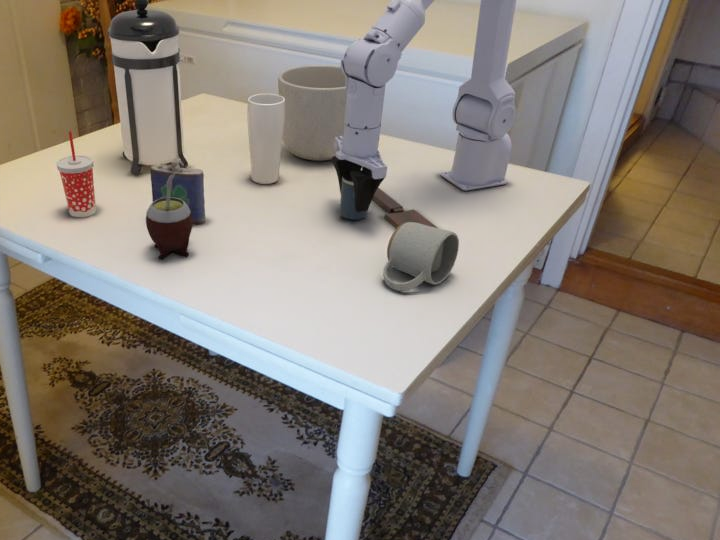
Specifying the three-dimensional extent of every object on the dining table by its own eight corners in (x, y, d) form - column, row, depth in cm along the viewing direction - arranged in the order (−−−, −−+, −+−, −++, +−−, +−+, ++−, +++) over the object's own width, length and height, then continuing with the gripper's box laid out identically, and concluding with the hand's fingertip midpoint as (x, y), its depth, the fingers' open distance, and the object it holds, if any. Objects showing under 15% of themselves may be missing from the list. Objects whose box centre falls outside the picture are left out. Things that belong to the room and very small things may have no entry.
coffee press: (209, 156, 139) (203, -8, 121) (161, 183, 129) (147, 7, 111) (143, 141, 147) (128, -16, 129) (93, 165, 136) (69, -3, 118)
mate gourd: (166, 237, 111) (159, 146, 102) (206, 248, 108) (203, 156, 99) (138, 256, 106) (128, 163, 97) (180, 269, 103) (173, 173, 94)
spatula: (366, 176, 130) (367, 171, 130) (440, 234, 111) (441, 228, 111) (340, 180, 129) (340, 175, 128) (410, 239, 110) (411, 234, 109)
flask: (207, 219, 116) (204, 158, 110) (202, 226, 114) (198, 164, 108) (156, 213, 118) (151, 153, 112) (150, 220, 116) (144, 159, 110)
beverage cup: (66, 204, 121) (53, 126, 113) (101, 203, 122) (90, 124, 113) (62, 220, 116) (48, 139, 108) (99, 218, 117) (87, 137, 108)
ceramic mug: (407, 255, 106) (414, 209, 101) (455, 273, 101) (464, 225, 96) (368, 282, 100) (373, 234, 95) (416, 302, 95) (424, 253, 90)
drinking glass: (279, 188, 127) (282, 105, 117) (244, 185, 128) (244, 103, 119) (285, 174, 132) (288, 94, 123) (251, 171, 133) (251, 92, 124)
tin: (359, 205, 119) (363, 169, 115) (373, 217, 115) (377, 180, 111) (334, 209, 118) (337, 173, 114) (347, 221, 114) (350, 184, 110)
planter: (261, 158, 138) (261, 80, 129) (300, 134, 150) (303, 60, 140) (337, 175, 131) (343, 93, 122) (371, 148, 143) (380, 71, 133)
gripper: (320, 112, 112) (315, 190, 120) (361, 141, 101) (352, 225, 109) (358, 107, 114) (351, 185, 122) (403, 135, 103) (391, 218, 111)
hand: (354, 203), depth 116 cm, fingers closed on tin, 5 cm apart
